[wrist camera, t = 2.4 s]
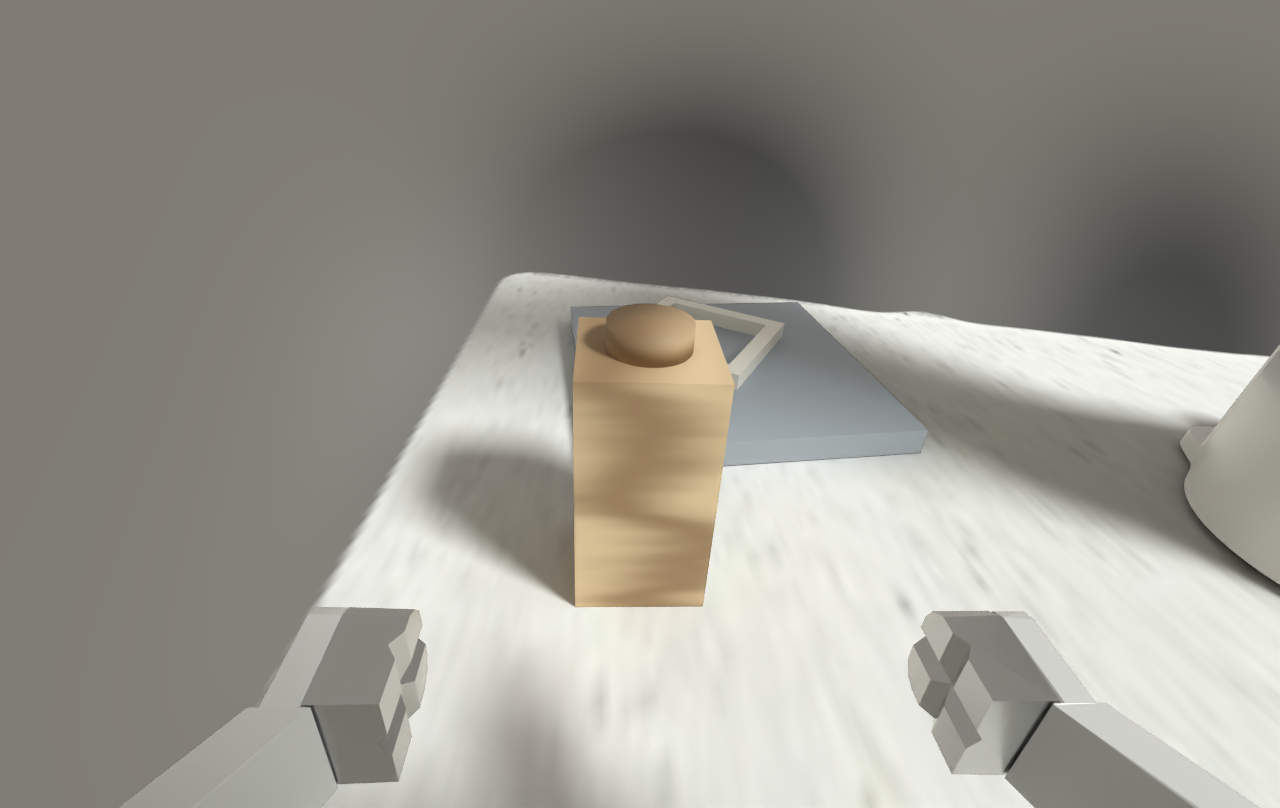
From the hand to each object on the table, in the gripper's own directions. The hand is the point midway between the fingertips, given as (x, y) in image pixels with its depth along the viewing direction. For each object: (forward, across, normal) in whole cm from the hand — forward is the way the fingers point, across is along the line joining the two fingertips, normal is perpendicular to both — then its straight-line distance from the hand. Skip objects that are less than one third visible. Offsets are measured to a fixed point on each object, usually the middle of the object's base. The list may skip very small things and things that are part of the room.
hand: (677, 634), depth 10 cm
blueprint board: (+29, -6, +10) cm, 31 cm away
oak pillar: (+12, 0, +11) cm, 16 cm away
